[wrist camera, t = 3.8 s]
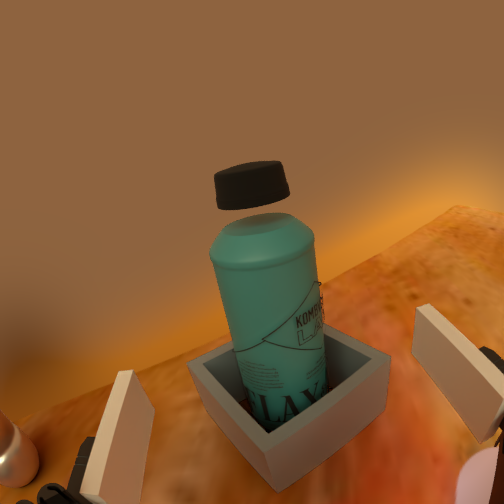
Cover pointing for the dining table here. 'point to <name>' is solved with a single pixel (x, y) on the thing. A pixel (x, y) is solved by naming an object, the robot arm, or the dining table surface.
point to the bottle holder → (307, 422)
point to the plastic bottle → (16, 455)
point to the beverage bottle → (270, 295)
